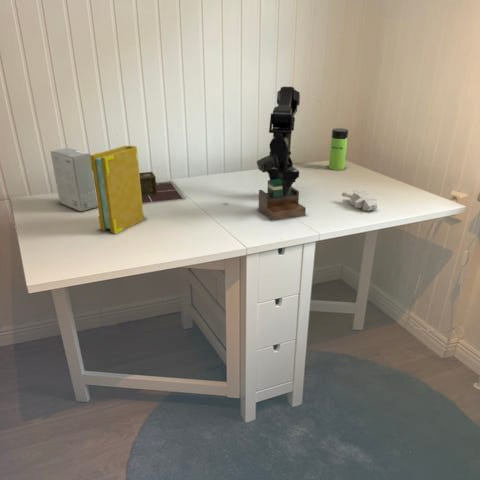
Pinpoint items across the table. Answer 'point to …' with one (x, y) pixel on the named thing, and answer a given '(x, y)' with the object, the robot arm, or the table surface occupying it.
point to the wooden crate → (156, 189)
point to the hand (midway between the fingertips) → (278, 191)
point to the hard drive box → (74, 178)
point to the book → (117, 188)
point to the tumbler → (338, 149)
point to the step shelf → (281, 205)
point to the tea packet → (276, 188)
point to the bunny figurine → (361, 200)
